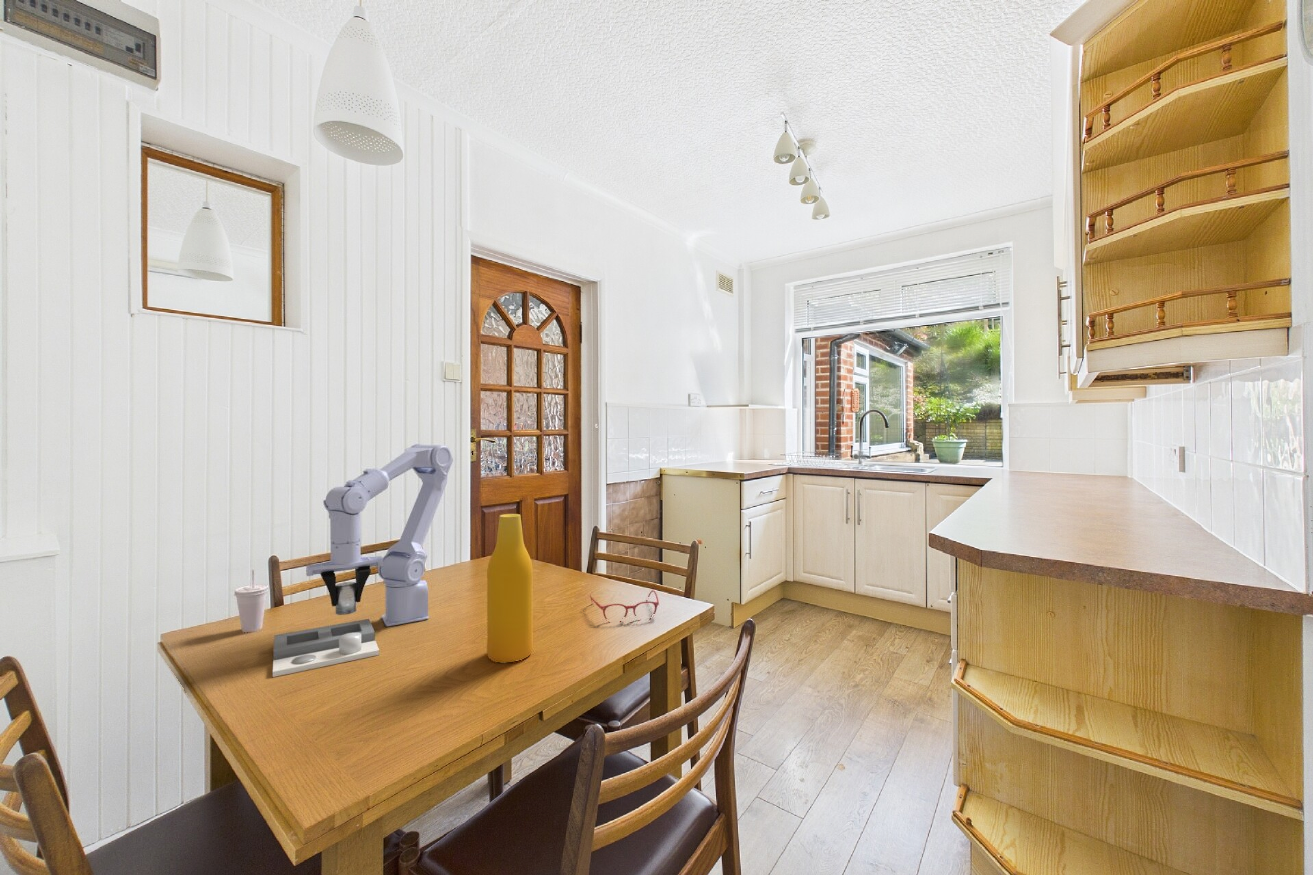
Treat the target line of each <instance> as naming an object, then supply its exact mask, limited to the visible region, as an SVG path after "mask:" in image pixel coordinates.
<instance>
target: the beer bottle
mask: <svg viewBox="0 0 1313 875" xmlns="http://www.w3.org/2000/svg"><path fill="white" fill-rule="evenodd" d="M523 534H524V533H523V526H522V518H521V514H518V513H504V514H500V515H499V518H498V526H497V536H496V543H495V548H494V550H493V552H492V554H491V556H490V559H489V561H488V564H487V568H486V569H487V572H486V585H487V586H486V600H487V601H486V603H487V604H486V612H487V615H486V617H487V620H486V624H487V625H486V626H487V627H486V628H487V632H486V633H487V634H486V639H487V640H486V651H487V652H486V653H487V657H488V659H489V660H490V659H491V660H490V661H492V660H493V661H492V662H494V661H496V662H495V663H497V662H513V661H516V660H520V659H523V658H526V657H527V656H529V655H530V654H531V655H532V653H533V649H534V635H533V634H534V633H533V632H534V627H533V625H534V621H533V618H534V617H533V616H534V612H533V611H534V608H533V607H534V604H533V603H534V602H533V601H534V600H533V599H534V595H533V594H534V593H533V592H534V591H533V588H534V586H533V584H534V581H533V580H534V579H533V578H534V577H533V575H534V572H533V571H534V569H533V568H534V567H533V563H532V562H533V561H532V558H531V557H530V554H529V552H528V550H527V548H526V545H525V543H524V535H523ZM531 652H532V653H531ZM531 655H530V656H531ZM530 656H529V657H530ZM526 659H527V658H526ZM513 663H514V662H513Z"/></svg>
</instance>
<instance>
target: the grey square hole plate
mask: <svg viewBox="0 0 1313 875" xmlns="http://www.w3.org/2000/svg"><path fill="white" fill-rule="evenodd" d="M348 633H361V643H366V642H371V641H376V637H375V636H376V632H375V630H374V627H373V625H372V623H371V620H370V618H366V619H360V620H356V621H355V620H354V621H350V622H343V623H338V624H332V625H331V624H330V625H326V626H325V625H324V626H320V627H314V628H310V629H309V628H307V629H303V630H297V631H291V632H286V633H279V634H275V635H273V637H274V638H273V654H272V656H273V661H274V660H279V659H284V658H289V657H294V656H299V655H304V654H309V653H315V652H320V651H325V650H330V649H335V648H339V637H340V636H342V635H344V634H348Z"/></svg>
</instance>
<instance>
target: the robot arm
mask: <svg viewBox="0 0 1313 875" xmlns="http://www.w3.org/2000/svg"><path fill="white" fill-rule="evenodd" d="M453 462H454V458H453V455H452V452H451V450H450V448H449V447H448V446H447V445H445V444H436V445H435V444H420V443H415V444H413V445H411V446H410V447H408V448H405V449H404V452H402V453H401V454H400V455H399V456H397V457H395V458H393V460H392V461H390V462H388V463H387V464H386V465H384V466H383V467H382V468H380V469H378V468H365V469H364V470H363V471H362V474H361V475H358V476H357V477H356V478H354V479H350V480H348V481H346V482H345V484H344V485H343V486H335V487H333V488H331V489H330V490H329V491H328V493H327V494H326V496H325V499H323V500H322V501H323V502H322V503H323V506H324V509H326V510H327V512H328V519H329V520H330V521H329V522H330V524H329V525H330V527H329V528H330V561H325V562H319V563H314V564H306V565H305V566H306V567H305V569H306V570H305V572H306V573H305V574H306V577H311V576H314V575H320V576H321V578H322V581H323V582H324V584H325V586H326V588H327V591H328V594H329V597H330V602H331V606H332V607H335V606H336V592H335V590H336V585H337V582H336V581H337V577H336V573H335V572H344V571H350V570H354V572H355V583H356V603H360V602H361V599H362V594H363V592H364V587H365V585H366V583H367V580H368V579H369V577H370V576H371V572H372V571H371V570H372V569H371V568H373V567H377V573H378V576H379V577H380V578H381V579H382V580H383V583H382V584H384V585H385V586H384V587H385V591H384V592H385V593H384V594H385V598H384V599H385V600H384V602H385V604H384V606H385V610H384V611H385V612H384V613H385V614H382V615H381V619H382V621H383V623H384V625H385V627H392V626H397V625H402V624H403V625H404V624H409V623H414V622H420V621H425V620H429V618H430V617H429V587H428V583H427V581H426V580H425V579H422V578H423V576H424V574H425V570H426V561H427V558H428V555H427V553H426V552H425V550H424V549H423V546H424V542H425V540H426V537H427V535H428V532H429V529H430V528H431V525H432V522H433V519H434V517H435V515H436V512H437V509H438V507H439V504H440V502H441V500H442V496H443V494H444V492H445V489H446V486H447V483H448V476H449V473H450V472H449V471H450V469H451V467H452V465H453ZM411 469H412V470H413V471H414V473H415V474H416V475H417V477H418V478H419V479H420V480H421V482H422V485H421V487H420V489H419V493H418V494H417V498H416V500H415V502H414V504H413V506H412V508H411V512H410V514H409V516H408V519H407V521H406V524H405V527H404V529H403V531H402V533H401V536H400V538H399V540H398V541H397V542H396V543H394V544H393V545H391V546H390V547H388V549H387V552H386V554H385V555H384V556H382V555H379V556H368V557H367V556H366V557H365V556H362V557H361V554H362V552H361V512H363V511H364V510H365V508H366V505H367V503H368V502H369V501H370V500H372V499H373V498H375V497H376V496H378V495H379V494H380V493H383V492H385V490H387V489H388V487H389V485H390V484H389V483H390V482H391V481H393V480H395V479H396V478H397V477H399V476H401V475H403V474H405V473H406V472H408V471H410V470H411Z"/></svg>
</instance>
